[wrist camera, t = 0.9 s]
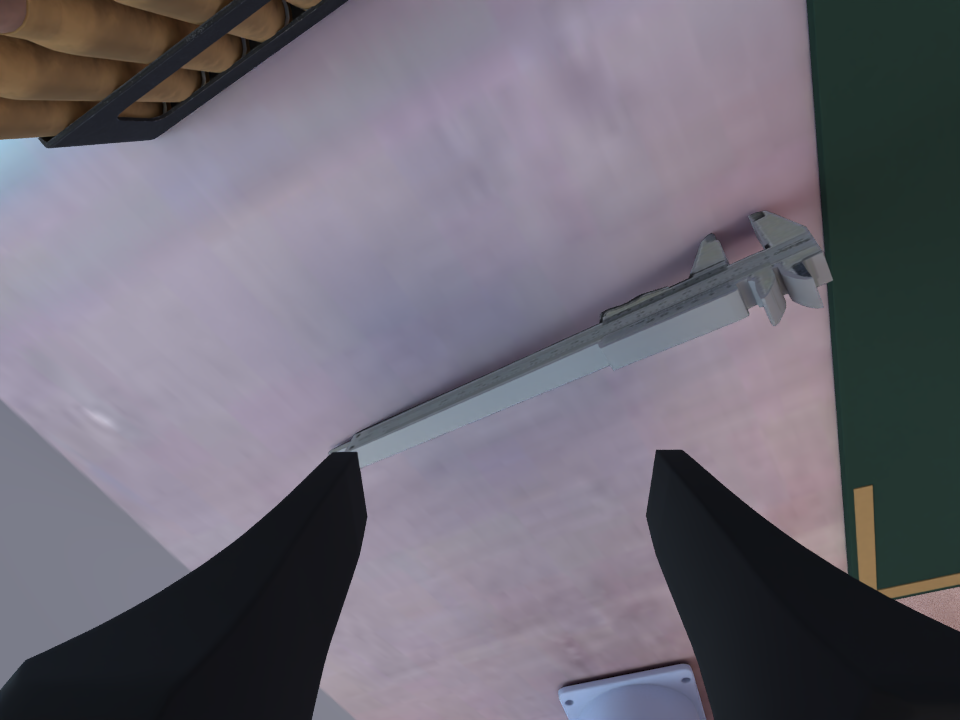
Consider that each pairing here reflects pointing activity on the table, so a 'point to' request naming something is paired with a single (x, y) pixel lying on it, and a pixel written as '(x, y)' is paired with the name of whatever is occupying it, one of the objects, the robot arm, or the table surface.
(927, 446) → the desk mat
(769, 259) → the caliper
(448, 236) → the table surface
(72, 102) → the ammunition clip
